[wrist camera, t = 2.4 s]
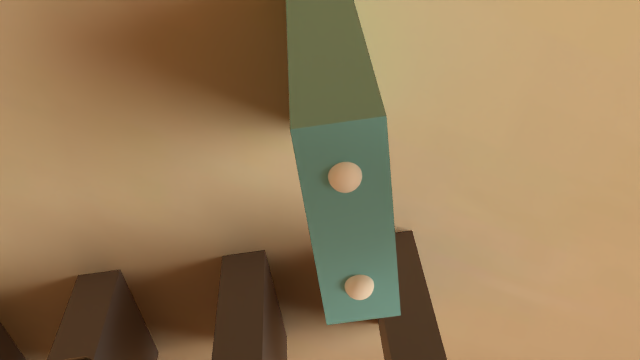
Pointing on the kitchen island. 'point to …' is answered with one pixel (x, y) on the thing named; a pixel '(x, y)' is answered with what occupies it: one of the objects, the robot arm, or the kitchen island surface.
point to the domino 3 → (342, 160)
